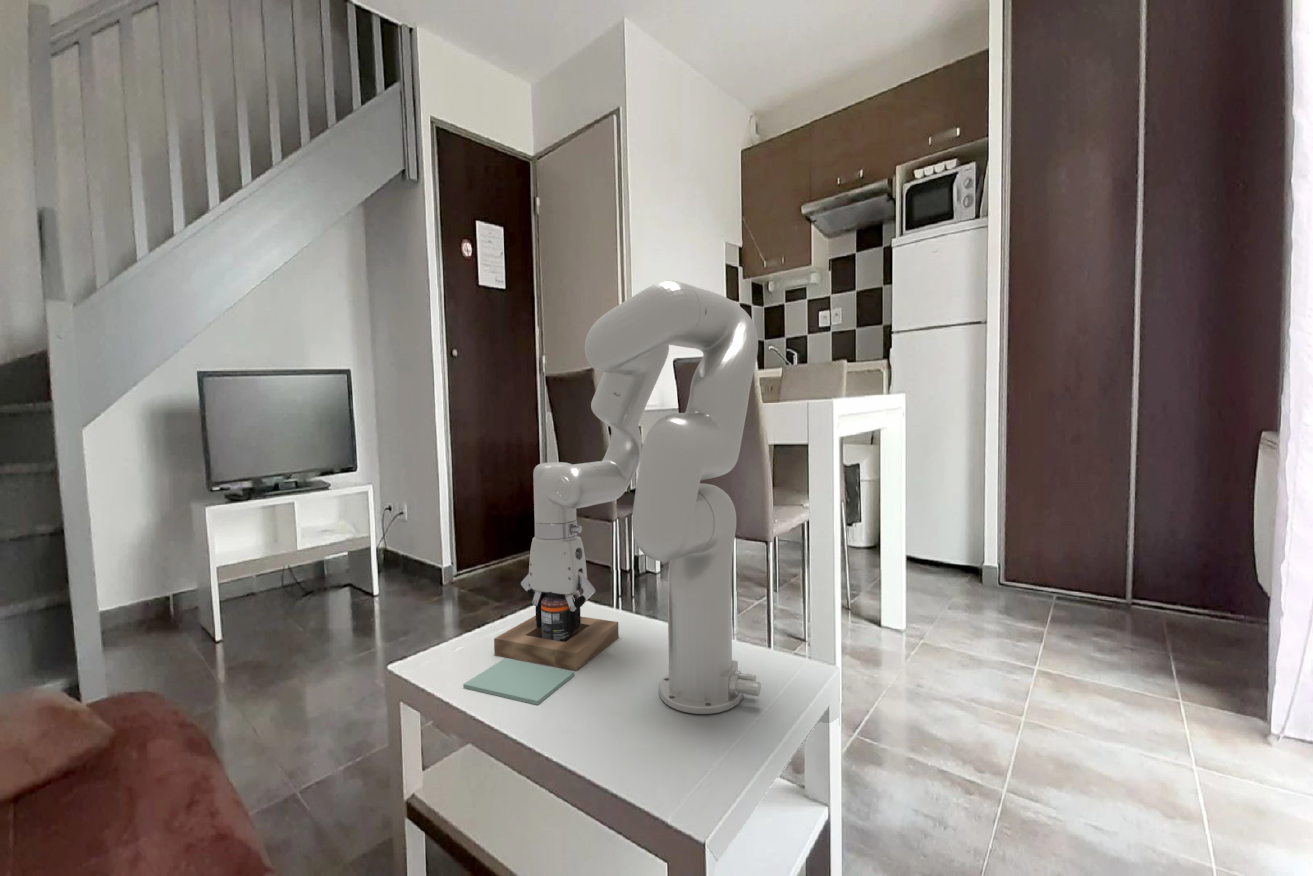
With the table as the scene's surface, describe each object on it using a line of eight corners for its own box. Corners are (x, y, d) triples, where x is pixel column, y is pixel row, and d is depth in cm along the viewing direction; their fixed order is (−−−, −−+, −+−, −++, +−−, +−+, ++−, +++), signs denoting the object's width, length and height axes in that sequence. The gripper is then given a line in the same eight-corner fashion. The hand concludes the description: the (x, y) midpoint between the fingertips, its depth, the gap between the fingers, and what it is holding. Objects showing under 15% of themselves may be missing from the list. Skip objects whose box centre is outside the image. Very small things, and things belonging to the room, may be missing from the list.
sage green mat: (574, 675, 90) (574, 671, 90) (537, 705, 81) (537, 701, 81) (504, 661, 96) (504, 658, 96) (463, 688, 87) (463, 684, 87)
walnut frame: (618, 637, 106) (618, 622, 106) (576, 671, 92) (576, 653, 92) (543, 625, 113) (543, 611, 112) (494, 655, 99) (494, 638, 99)
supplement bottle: (566, 637, 106) (565, 578, 106) (580, 647, 101) (579, 586, 101) (536, 644, 103) (535, 584, 103) (550, 655, 98) (548, 592, 98)
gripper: (607, 529, 101) (609, 626, 102) (529, 523, 108) (531, 615, 109) (586, 537, 95) (588, 642, 95) (504, 531, 102) (507, 628, 102)
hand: (558, 626), depth 102 cm, fingers closed on supplement bottle, 6 cm apart
